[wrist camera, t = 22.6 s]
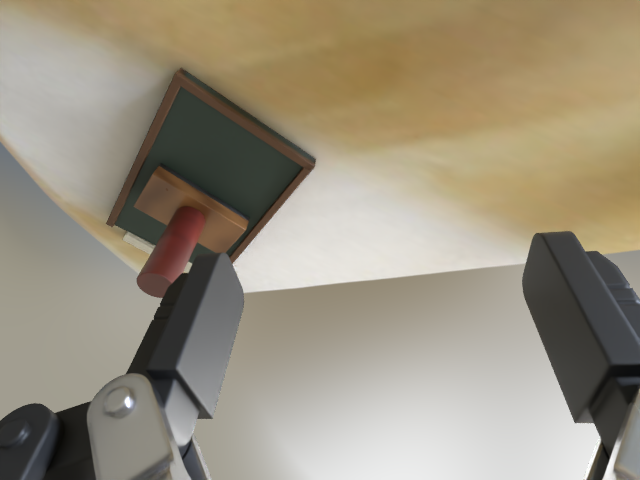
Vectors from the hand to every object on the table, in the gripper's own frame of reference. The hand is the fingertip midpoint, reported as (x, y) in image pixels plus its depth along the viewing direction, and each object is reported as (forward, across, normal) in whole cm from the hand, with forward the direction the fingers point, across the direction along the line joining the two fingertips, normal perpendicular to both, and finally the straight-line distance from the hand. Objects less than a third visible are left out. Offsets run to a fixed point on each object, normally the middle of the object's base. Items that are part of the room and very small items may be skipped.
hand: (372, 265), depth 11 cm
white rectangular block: (+28, +30, +21) cm, 46 cm away
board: (+28, +19, +15) cm, 37 cm away
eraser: (+27, +20, +16) cm, 38 cm away
